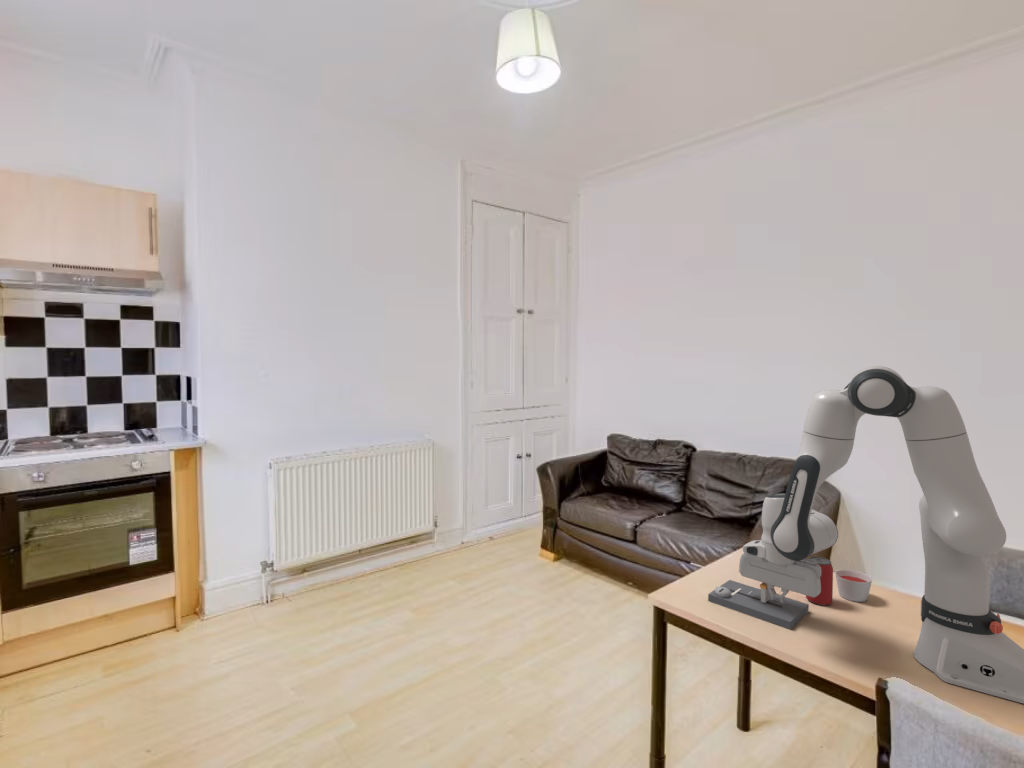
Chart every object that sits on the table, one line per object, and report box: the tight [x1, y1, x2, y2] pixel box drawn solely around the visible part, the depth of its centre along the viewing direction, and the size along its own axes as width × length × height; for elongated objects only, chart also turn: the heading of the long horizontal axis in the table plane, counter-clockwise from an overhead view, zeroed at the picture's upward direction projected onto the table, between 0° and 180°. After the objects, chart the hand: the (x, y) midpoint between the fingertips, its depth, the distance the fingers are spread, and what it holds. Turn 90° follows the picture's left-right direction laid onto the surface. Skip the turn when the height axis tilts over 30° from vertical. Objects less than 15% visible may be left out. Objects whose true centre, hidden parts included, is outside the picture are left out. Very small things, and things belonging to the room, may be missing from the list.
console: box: [707, 579, 810, 630], centre depth 145 cm, size 22×14×4 cm, turn 43°
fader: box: [759, 582, 770, 603], centre depth 144 cm, size 2×4×5 cm, turn 133°
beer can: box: [805, 556, 834, 606], centre depth 148 cm, size 7×7×12 cm
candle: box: [834, 569, 873, 603], centre depth 150 cm, size 9×9×6 cm
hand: (777, 601), depth 141 cm, fingers closed
